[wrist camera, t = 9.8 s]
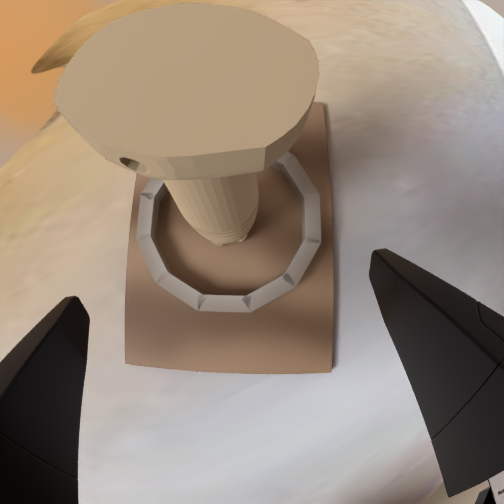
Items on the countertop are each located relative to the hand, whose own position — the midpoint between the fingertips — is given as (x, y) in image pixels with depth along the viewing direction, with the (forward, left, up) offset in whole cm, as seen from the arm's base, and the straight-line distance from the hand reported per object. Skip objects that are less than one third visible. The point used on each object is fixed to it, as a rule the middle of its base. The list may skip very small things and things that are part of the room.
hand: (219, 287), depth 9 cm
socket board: (+5, +1, -12) cm, 13 cm away
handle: (+5, +1, -12) cm, 12 cm away
